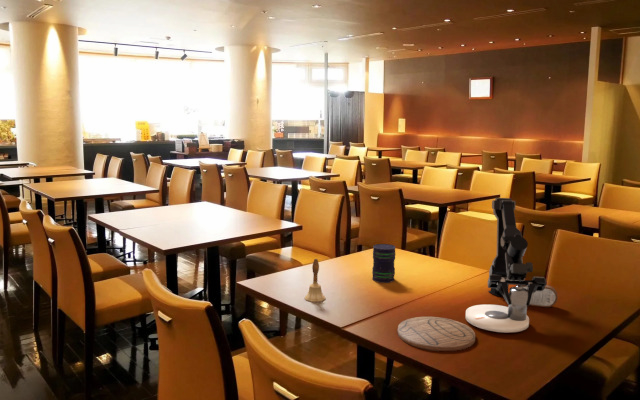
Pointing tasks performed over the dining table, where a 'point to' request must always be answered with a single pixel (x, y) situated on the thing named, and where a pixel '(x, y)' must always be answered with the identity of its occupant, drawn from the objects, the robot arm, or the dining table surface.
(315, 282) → the hand bell
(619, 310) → the dining table surface
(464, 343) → the trivet
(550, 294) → the tin
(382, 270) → the storage jar
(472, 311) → the turntable
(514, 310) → the grey metal cylinder
